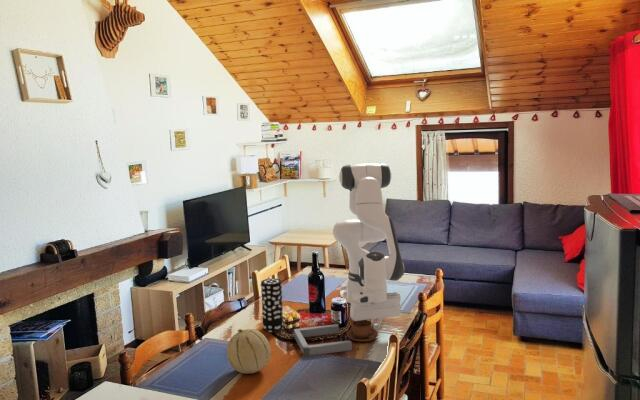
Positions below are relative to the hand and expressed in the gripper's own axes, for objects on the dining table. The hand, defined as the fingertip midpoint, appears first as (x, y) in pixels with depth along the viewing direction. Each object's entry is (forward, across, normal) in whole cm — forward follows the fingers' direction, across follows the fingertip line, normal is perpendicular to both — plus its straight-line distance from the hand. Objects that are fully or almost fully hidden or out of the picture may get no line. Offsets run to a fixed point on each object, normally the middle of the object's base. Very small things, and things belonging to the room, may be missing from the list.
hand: (375, 328), depth 206 cm
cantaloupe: (+4, +52, +14) cm, 54 cm away
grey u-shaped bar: (+3, +22, 0) cm, 22 cm away
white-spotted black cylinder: (+3, +37, -21) cm, 43 cm away
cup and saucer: (+3, +6, 0) cm, 7 cm away
